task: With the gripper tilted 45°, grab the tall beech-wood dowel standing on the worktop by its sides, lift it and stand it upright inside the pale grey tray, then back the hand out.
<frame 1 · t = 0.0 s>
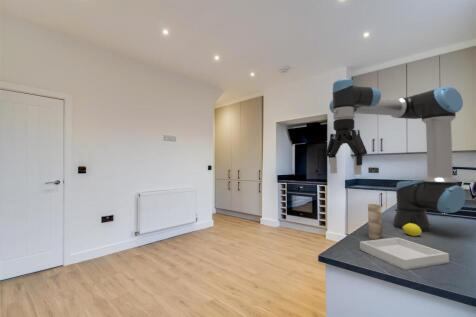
hand: (344, 174, 95), 28 cm above the counter, tool pointing down, fingers open, 13 cm apart
dowel: (375, 237, 104), on the counter
tray: (401, 255, 84), on the counter
lemon: (412, 236, 107), on the counter
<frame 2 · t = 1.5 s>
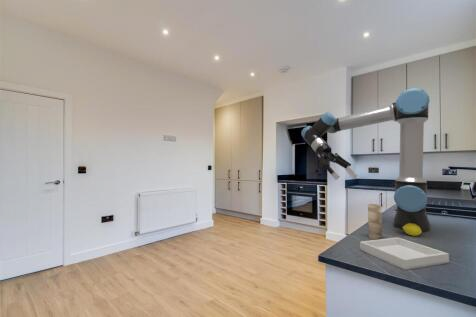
hand: (347, 177, 117), 25 cm above the counter, tool tilted 45°, fingers open, 13 cm apart
nothing on the counter moved.
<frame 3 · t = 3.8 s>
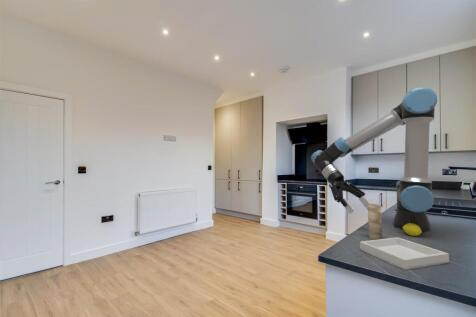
hand: (361, 210, 109), 11 cm above the counter, tool tilted 45°, fingers open, 13 cm apart
nothing on the counter moved.
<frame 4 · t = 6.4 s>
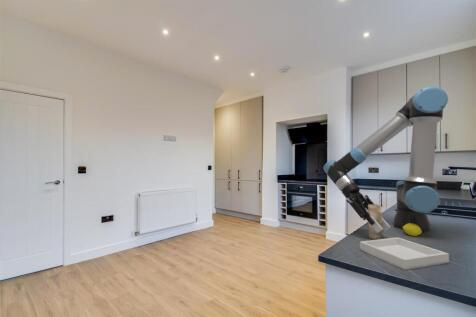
hand: (384, 229, 101), 4 cm above the counter, tool tilted 45°, fingers closed on dowel, 5 cm apart
dowel: (375, 237, 104), on the counter, touching gripper
everything else where it was.
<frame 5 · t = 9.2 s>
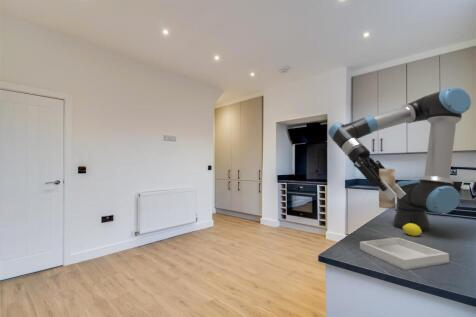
hand: (398, 196, 85), 20 cm above the counter, tool tilted 45°, fingers closed on dowel, 5 cm apart
dowel: (387, 207, 89), point 16 cm above the counter, touching gripper
everything else where it was.
when the fingers open (6 cm above the counter, at t = 12.5 s): dowel drops 1 cm, resting on tray.
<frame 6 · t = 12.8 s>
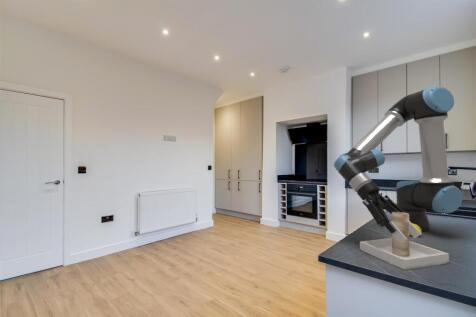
hand: (410, 238, 81), 7 cm above the counter, tool tilted 45°, fingers open, 9 cm apart
dowel: (400, 253, 84), point 1 cm above the counter, touching tray
everything else where it was.
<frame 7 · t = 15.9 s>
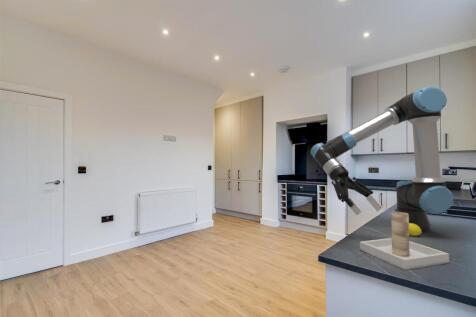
hand: (370, 211, 93), 14 cm above the counter, tool tilted 45°, fingers open, 13 cm apart
nothing on the counter moved.
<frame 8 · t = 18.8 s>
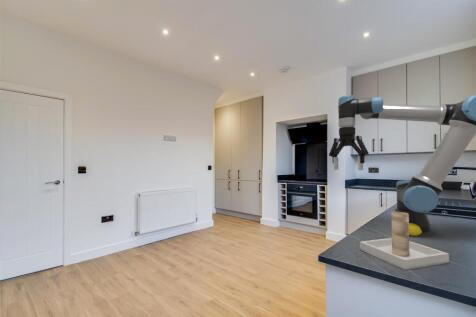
hand: (347, 170, 120), 29 cm above the counter, tool pointing down, fingers open, 13 cm apart
nothing on the counter moved.
at the end: dowel inside the target area on the tray (0.1 cm from its centre), point 0.6 cm above the tray's base; dowel tilted 0°; the gripper is holding nothing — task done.
